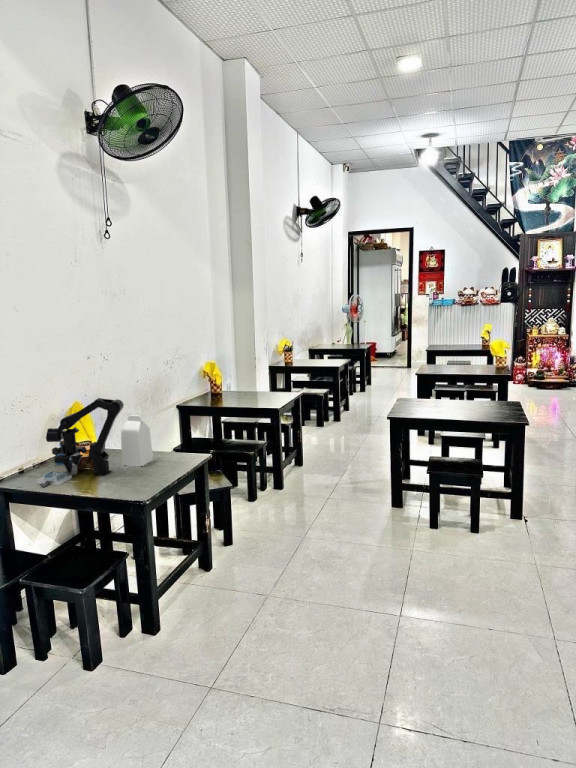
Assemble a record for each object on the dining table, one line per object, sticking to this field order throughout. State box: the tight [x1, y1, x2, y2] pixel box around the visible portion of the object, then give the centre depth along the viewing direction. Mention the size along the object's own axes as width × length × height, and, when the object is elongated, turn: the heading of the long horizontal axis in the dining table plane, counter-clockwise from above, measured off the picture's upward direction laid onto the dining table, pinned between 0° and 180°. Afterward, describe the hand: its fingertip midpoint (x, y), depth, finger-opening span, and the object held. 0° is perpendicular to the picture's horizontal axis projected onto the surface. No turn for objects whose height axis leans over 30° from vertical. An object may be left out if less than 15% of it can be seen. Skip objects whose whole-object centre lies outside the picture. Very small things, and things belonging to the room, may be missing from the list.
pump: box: [67, 463, 78, 476], centre depth 267 cm, size 4×4×5 cm
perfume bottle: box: [55, 440, 72, 466], centre depth 285 cm, size 6×6×12 cm
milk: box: [120, 414, 154, 467], centre depth 281 cm, size 12×12×26 cm
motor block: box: [36, 470, 73, 489], centre depth 256 cm, size 12×14×4 cm
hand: (72, 471), depth 267 cm, fingers closed on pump, 4 cm apart
